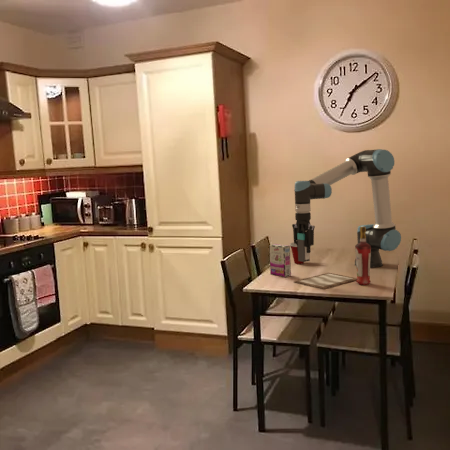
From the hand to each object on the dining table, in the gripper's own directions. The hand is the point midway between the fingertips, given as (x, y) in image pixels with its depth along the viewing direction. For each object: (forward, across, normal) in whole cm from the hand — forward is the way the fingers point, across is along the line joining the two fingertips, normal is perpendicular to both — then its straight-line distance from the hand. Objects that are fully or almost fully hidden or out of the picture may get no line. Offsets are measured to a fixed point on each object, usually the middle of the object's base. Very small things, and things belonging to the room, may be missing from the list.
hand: (304, 258), depth 256 cm
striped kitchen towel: (+12, +6, +9) cm, 16 cm away
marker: (+1, 0, 0) cm, 1 cm away
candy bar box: (+12, -21, +3) cm, 25 cm away
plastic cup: (+12, -35, +31) cm, 48 cm away
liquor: (+12, +23, +17) cm, 31 cm away
